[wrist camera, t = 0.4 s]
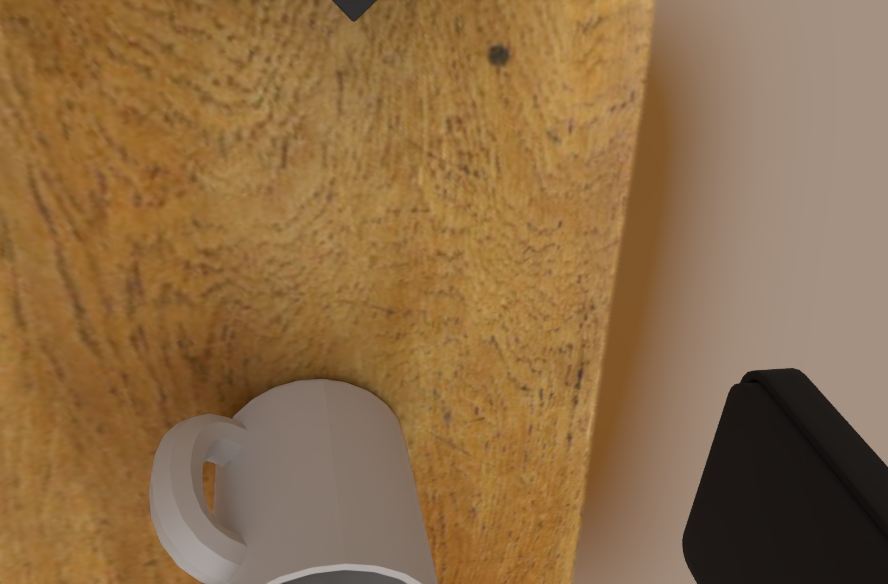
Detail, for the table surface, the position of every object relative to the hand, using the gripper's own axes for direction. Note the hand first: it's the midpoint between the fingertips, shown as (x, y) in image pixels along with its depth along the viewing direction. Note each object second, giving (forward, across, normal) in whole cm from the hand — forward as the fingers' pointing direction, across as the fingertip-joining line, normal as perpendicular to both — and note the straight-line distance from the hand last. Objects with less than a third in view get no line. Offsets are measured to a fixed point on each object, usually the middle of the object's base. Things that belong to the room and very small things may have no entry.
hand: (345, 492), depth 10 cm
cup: (+18, 0, +15) cm, 24 cm away
